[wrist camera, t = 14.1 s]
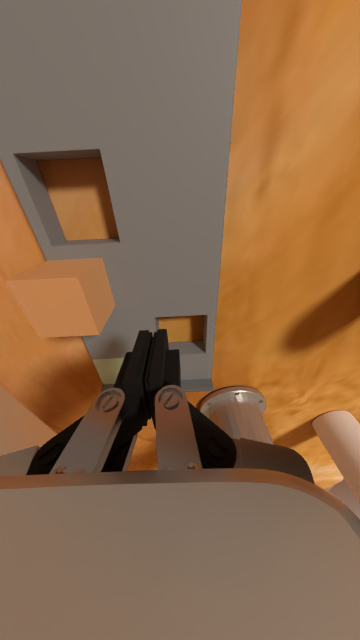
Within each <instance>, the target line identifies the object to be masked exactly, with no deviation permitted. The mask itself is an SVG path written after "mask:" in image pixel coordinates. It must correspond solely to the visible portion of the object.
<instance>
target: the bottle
mask: <svg viewBox="0 0 360 640" xmlns="http://www.w3.org/2000/svg"><path fill="white" fill-rule="evenodd" d="M312 427H313V428H314V430H315V432H316V433H317V435H318V437H319V438H320V440H321V441H322V443H323V445H324V446H325V448H326V449H327V451H328V453H329V454H330V456H331V457H332V459H333V461H334V462H335V464H336V466H337V467H338V469H339V470H340V472H341V474H342V475H343V477H344V478H345V480H346V482H347V483H348V485H349V487H350V488H351V490H352V491H353V493H354V495H355V496H356V498H357V499H358V501H359V503H360V424H359V423H358V422H357V420H356V419H355V418H354V417H353V416H352V415H351V414H350V413H349V412H348V411H344V410H336V411H331V412H327V413H324V414H322V415H320V416H318V417H317V418H315V419H314V420H313V422H312Z"/></svg>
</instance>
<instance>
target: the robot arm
mask: <svg viewBox="0 0 360 640" xmlns="http://www.w3.org/2000/svg"><path fill="white" fill-rule="evenodd" d="M199 409H200V411H199V410H198V409H197V408H195V407H194V406H193V405H192V404H190V403H189V402H188V401H187V397H186V394H185V391H184V390H183V389H182V388H181V368H180V352H179V349H174V350H169V345H168V337H167V330H166V329H158V330H157V332H154V335H153V334H152V332H149V330H140V331H139V333H138V336H137V339H136V342H135V345H134V348H133V351H132V352H127V353H126V354H125V357H124V360H123V363H122V365H121V368H120V371H119V373H118V376H117V379H116V381H115V384H114V387H113V388H109V389H106V390H104V391H102V392H101V393H100V394H99V395H97V397H96V398H95V399H94V401H93V402H92V404H91V406H90V407H89V409H88V411H87V412H86V414H85V415H84V416H83V417H81V418H80V419H79V420H77V421H76V422H74V423H73V424H72V425H70V426H69V427H67V428H66V429H65V430H63V431H62V432H60V433H59V434H58V435H56V436H55V437H53V438H52V439H51V440H49V441H48V442H47V443H46V444H44V445H43V446H42V447H40V448H39V447H38V446H35V447H31V448H28V449H24V450H20V451H17V452H13V453H10V454H6V455H2V456H0V640H360V519H359V518H358V517H357V516H356V515H355V514H354V513H353V512H352V510H351V509H350V508H349V507H348V506H346V504H344V503H343V502H342V501H341V500H340V499H338V498H337V497H335V496H334V495H332V494H331V493H330V492H328V491H326V490H324V489H323V488H321V487H319V486H317V485H315V483H314V480H313V477H312V474H311V470H310V468H309V466H308V464H307V462H306V461H305V460H304V458H303V457H302V456H301V455H300V454H299V453H297V452H296V451H295V450H293V449H290V448H287V447H283V446H278V445H274V443H273V440H272V438H271V435H270V433H269V431H268V428H267V426H266V423H265V421H264V419H263V416H262V414H263V413H264V411H265V409H266V401H265V399H264V397H263V395H262V394H261V393H260V392H259V391H257V390H255V389H252V388H248V387H228V388H224V389H220V390H218V391H215V392H213V393H211V394H210V395H208V396H207V397H206V398H205V399H204V400H203V401H202V402H201V404H200V408H199ZM151 416H152V420H153V424H154V428H155V429H156V443H157V467H158V470H149V471H127V468H128V465H129V462H130V459H131V456H132V452H133V449H134V446H135V443H136V440H137V435H138V434H137V433H138V432H139V431H140V430H141V429H142V426H147V420H148V419H151Z"/></svg>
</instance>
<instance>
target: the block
mask: <svg viewBox="0 0 360 640" xmlns="http://www.w3.org/2000/svg"><path fill="white" fill-rule="evenodd" d="M4 282H5V283H6V285H7V287H8V288H9V290H10V292H11V293H12V295H13V296H14V298H15V300H16V301H17V303H18V304H19V306H20V308H21V309H22V311H23V312H24V314H25V316H26V317H27V319H28V321H29V322H30V324H31V325H32V327H33V329H34V330H35V332H36V333H37V335H38V337H39V338H48V337H68V336H88V335H99V334H100V333H101V331H102V329H103V327H104V325H105V324H106V322H107V320H108V318H109V317H110V315H111V313H112V311H113V309H114V308H115V302H114V299H113V295H112V291H111V288H110V284H109V280H108V277H107V273H106V269H105V266H104V262H103V259H102V258H92V259H71V260H49V261H46V262H43V263H41V264H39V265H37V266H35V267H33V268H30V269H28V270H26V271H24V272H22V273H20V274H17V275H15V276H13V277H11V278H9V279H7V280H4Z"/></svg>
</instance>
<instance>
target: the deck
mask: <svg viewBox="0 0 360 640" xmlns="http://www.w3.org/2000/svg"><path fill="white" fill-rule="evenodd" d="M241 3H242V0H0V160H1V162H2V164H3V166H4V168H5V171H6V173H7V175H8V177H9V179H10V181H11V184H12V186H13V188H14V190H15V192H16V195H17V197H18V199H19V201H20V203H21V206H22V208H23V210H24V212H25V214H26V216H27V219H28V221H29V223H30V225H31V227H32V230H33V232H34V234H35V236H36V238H37V241H38V243H39V245H40V247H41V249H42V251H43V254H44V256H45V258H46V260H47V261H49V260H71V259H92V258H102V259H103V262H104V266H105V269H106V273H107V277H108V280H109V284H110V288H111V291H112V295H113V299H114V302H115V308H114V309H113V311H112V313H111V315H110V317H109V318H108V320H107V322H106V324H105V325H104V327H103V329H102V331H101V333H100V334H99V335H88V336H81V337H82V339H83V341H84V343H85V345H86V348H87V350H88V352H89V354H90V356H91V359H92V361H93V363H94V365H95V367H96V369H97V372H98V374H99V376H100V378H101V380H102V383H103V387H102V389H101V392H102V391H104V390H106V389H109V388H113V387H114V384H115V381H116V379H117V376H118V373H119V371H120V368H121V365H122V363H123V360H124V357H125V354H126V353H127V352H132V351H133V348H134V345H135V342H136V339H137V336H138V333H139V331H140V330H149V332H152V334H153V335H154V332H157V330H158V329H159V323H158V317H175V316H193V315H204V329H203V341H192V342H174V343H168V345H169V350H174V349H179V352H180V368H181V388H182V389H183V390H184V391H185V392H198V391H213V384H212V380H211V375H212V363H213V350H214V338H215V326H216V313H217V301H218V288H219V276H220V264H221V251H222V239H223V226H224V214H225V202H226V189H227V177H228V164H229V152H230V139H231V127H232V115H233V102H234V90H235V77H236V65H237V53H238V40H239V28H240V15H241ZM93 157H102V162H103V166H104V171H105V175H106V180H107V184H108V189H109V194H110V198H111V203H112V207H113V212H114V217H115V221H116V226H117V230H118V235H119V238H112V239H94V240H76V241H66V239H65V236H64V234H63V231H62V228H61V226H60V223H59V220H58V218H57V215H56V212H55V210H54V207H53V204H52V202H51V199H50V196H49V194H48V191H47V188H46V186H45V183H44V180H43V178H42V175H41V172H40V170H39V167H38V164H37V162H36V161H39V160H57V159H75V158H93ZM101 392H100V393H101Z"/></svg>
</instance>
